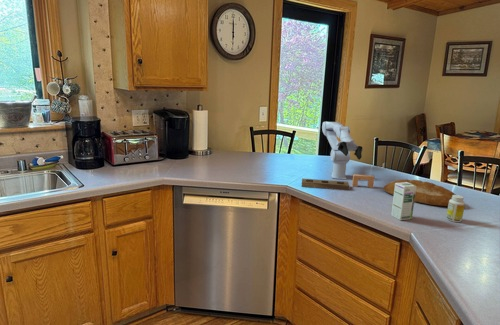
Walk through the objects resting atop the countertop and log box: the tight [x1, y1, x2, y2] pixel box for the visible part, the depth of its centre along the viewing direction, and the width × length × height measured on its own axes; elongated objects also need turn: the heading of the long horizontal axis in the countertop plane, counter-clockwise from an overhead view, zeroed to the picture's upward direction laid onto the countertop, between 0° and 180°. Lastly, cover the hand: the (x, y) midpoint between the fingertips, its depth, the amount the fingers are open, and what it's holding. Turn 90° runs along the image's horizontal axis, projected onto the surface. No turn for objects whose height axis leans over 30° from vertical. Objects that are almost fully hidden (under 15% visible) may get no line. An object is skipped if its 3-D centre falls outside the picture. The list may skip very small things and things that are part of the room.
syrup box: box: [390, 182, 416, 221], centre depth 136 cm, size 6×6×14 cm
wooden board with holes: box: [301, 178, 350, 191], centre depth 176 cm, size 7×24×2 cm, turn 81°
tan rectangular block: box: [351, 174, 375, 189], centre depth 177 cm, size 2×10×6 cm, turn 81°
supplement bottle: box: [445, 194, 466, 223], centre depth 136 cm, size 6×6×10 cm
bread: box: [382, 179, 457, 207], centre depth 161 cm, size 18×35×9 cm, turn 50°
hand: (353, 156), depth 170 cm, fingers open, 7 cm apart
